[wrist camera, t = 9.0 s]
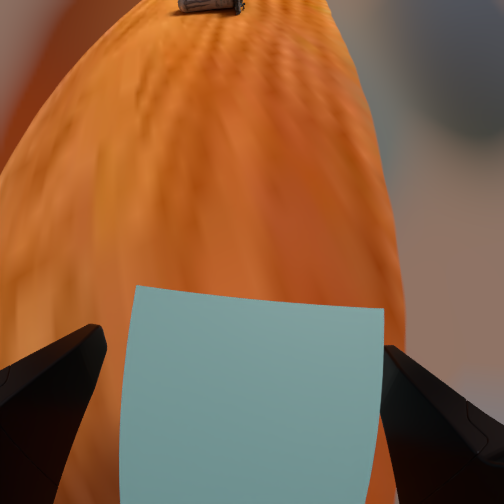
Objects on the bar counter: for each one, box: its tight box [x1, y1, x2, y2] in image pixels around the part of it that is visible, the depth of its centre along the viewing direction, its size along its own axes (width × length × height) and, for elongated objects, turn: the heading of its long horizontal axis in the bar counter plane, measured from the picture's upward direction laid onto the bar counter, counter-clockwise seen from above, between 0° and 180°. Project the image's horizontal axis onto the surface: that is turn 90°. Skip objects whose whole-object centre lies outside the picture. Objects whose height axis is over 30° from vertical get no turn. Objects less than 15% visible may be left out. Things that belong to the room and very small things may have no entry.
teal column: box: [119, 285, 384, 504], centre depth 10 cm, size 5×5×12 cm
